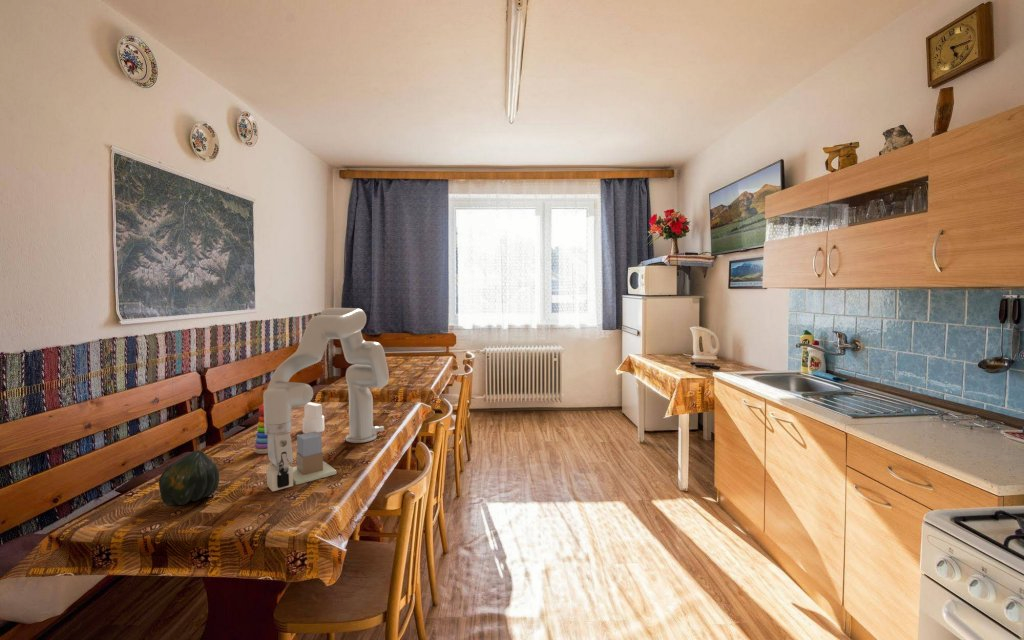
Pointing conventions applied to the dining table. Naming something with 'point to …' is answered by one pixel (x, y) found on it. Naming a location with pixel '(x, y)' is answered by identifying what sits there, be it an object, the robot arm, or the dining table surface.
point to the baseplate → (313, 475)
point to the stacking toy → (261, 435)
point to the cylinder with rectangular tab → (312, 418)
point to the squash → (188, 479)
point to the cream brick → (272, 477)
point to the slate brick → (309, 444)
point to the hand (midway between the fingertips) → (280, 482)
